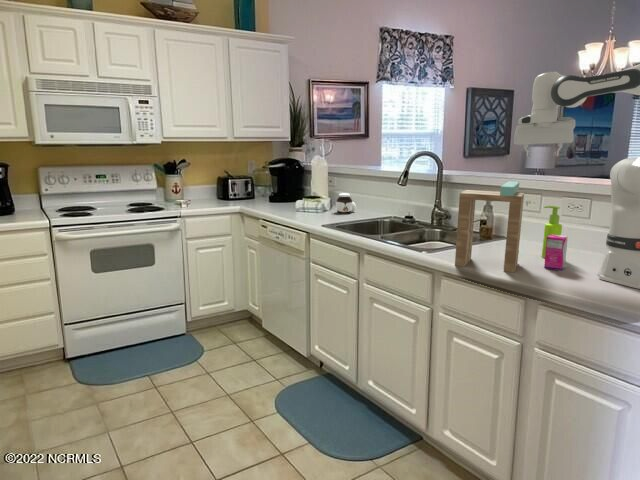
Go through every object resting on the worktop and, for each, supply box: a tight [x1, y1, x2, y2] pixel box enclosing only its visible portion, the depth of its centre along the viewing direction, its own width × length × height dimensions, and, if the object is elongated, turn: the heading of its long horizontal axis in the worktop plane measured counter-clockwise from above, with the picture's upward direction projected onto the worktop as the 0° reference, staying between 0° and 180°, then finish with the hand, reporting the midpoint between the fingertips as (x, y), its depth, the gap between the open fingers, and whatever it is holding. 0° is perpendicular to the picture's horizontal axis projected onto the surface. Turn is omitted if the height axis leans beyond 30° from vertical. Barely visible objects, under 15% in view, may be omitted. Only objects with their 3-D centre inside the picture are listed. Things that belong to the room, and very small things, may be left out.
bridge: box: [454, 189, 525, 273], centre depth 174 cm, size 14×20×26 cm
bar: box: [499, 181, 520, 196], centre depth 174 cm, size 24×4×3 cm, turn 154°
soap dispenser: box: [541, 205, 563, 260], centre depth 187 cm, size 6×7×20 cm
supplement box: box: [543, 235, 568, 271], centre depth 172 cm, size 6×6×12 cm
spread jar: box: [335, 192, 357, 215], centre depth 301 cm, size 12×11×12 cm
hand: (542, 156), depth 182 cm, fingers open, 8 cm apart
